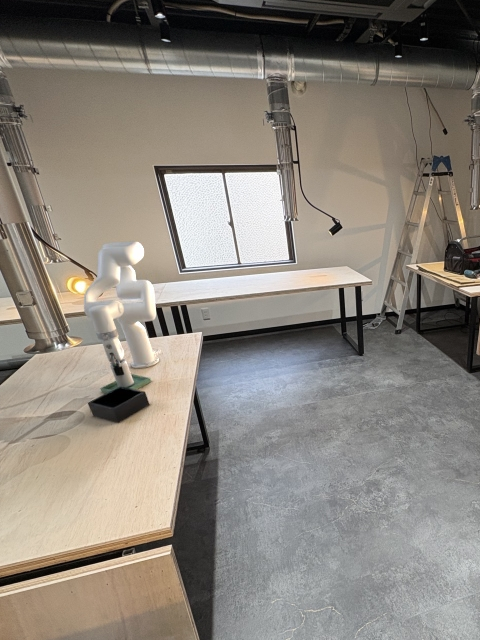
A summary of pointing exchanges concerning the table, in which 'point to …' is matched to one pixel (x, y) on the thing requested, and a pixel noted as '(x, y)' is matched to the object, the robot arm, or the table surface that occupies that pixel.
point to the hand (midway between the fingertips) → (121, 371)
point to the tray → (138, 383)
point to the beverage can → (124, 379)
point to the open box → (118, 404)
